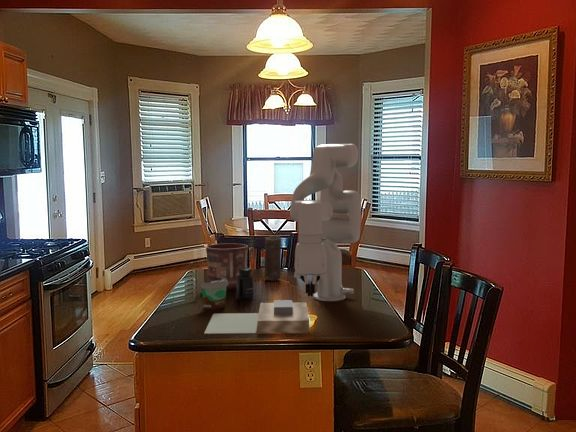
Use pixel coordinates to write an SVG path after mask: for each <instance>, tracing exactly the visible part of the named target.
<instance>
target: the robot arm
mask: <svg viewBox="0 0 576 432" xmlns="http://www.w3.org/2000/svg"><path fill="white" fill-rule="evenodd" d="M358 160H359V149H358V147H357V146H356V144H354V143H327V144H326V143H324V144H319V145H317V146H315V147H314V149H313V157H312V161H311V168H310V173H309V176H308V177H306V178H305V179H304V180H302V181H301V182H300V183H299V184H298V185H297V186H296V188H295V189H294V191H293V193H292V197H291V201H290V208H289V215H290V218H291V219H292V221H294V222H297V223H298V243H296V244H295V249H294V272H293V278H295V279H299V280H301V281H302V282H303V283H304V284H305V294H307V297H313V299H314V300H317V301H321V302H339V301H344V300H345V299H346V294H348V295H351V294H354V293H355V291H354V288H350V287H343V284H342V283H343V282H342V280H343V279H342V277H343V276H342V275H343V273H342V272H343V271H342V270H343V269H342V268H343V266H342V263H343V261H342V260H343V256H342V255H343V254H342V251H341V248H339V246H338V245H337V244H336V243H348V244H349V243H352V244H355V243H356V242H358V241H359V240H360V238H361V237H360V236H361V224H362V223H361V221H362V199H361V195H360V192H359V191H357V190H351V189H350V190H349V189H347V190H344V189H343V185H344V184H343V181H344V180H343V176H342V175H341V173H340V172H339V171H338V168H342V169H343V168H345V169H346V168H347V169H348V168H352V167H354V166H356V164H357V163H358ZM318 192H320V194H319V195H320V196H319V198H320V199H319V200H313V199H311V200H310V199H309V200H308V199H307V200H306V198H307V197H309V196H311V195H314V194H315V193H318ZM333 215H339V216H340V215H343V216H345V215H346V216H348V217H333ZM309 276H311V281H310V280H309V278H308V277H309ZM316 283H317V291H316Z"/></svg>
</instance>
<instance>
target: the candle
mask: <svg viewBox="0 0 576 432" xmlns="http://www.w3.org/2000/svg"><path fill="white" fill-rule="evenodd" d="M281 239H282V238H281V236H277V235H275V236H274V235H270V236H267V237H264V273H263V274H264V276H263V277H264V278H263V279H264V281H269V282H275V281H278V280H280V279H281V275H282V274H281V272H282V271H281V258H282V257H281V255H282V253H281V250H282V249H281V248H282V246H281V245H282V243H281V242H282V241H281Z"/></svg>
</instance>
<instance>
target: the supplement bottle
mask: <svg viewBox="0 0 576 432" xmlns="http://www.w3.org/2000/svg"><path fill="white" fill-rule="evenodd" d="M239 274H240V275H238V276H237V279H236V289H235V290H236V300H239V301H247V302H248V301H251V300H254V298H255V278H254V275H253V274H252V268H251V267H247V268H240V269H239Z"/></svg>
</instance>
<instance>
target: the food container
mask: <svg viewBox="0 0 576 432" xmlns="http://www.w3.org/2000/svg"><path fill="white" fill-rule="evenodd" d="M227 286H228V281H227V279H226V278H225V277H221V279H220V280H217V281H211V282H209V281H208V282H201V283H200V289H201V293H202V294H201V295H202V304H203V309H204V310H220V309H223V308H225V307H226V303H227V302H226V299H227V290H226V287H227Z"/></svg>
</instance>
